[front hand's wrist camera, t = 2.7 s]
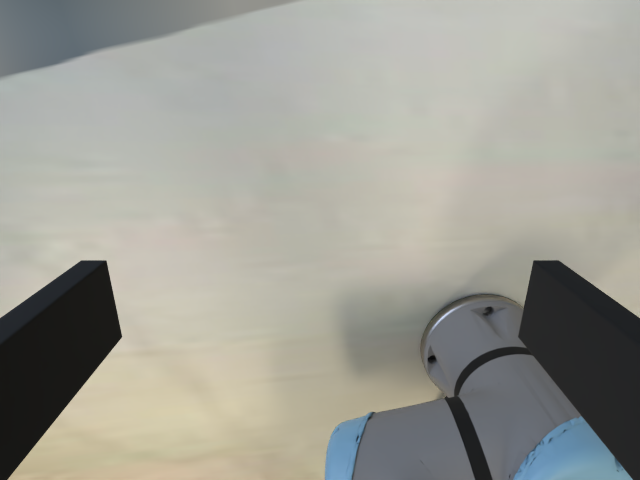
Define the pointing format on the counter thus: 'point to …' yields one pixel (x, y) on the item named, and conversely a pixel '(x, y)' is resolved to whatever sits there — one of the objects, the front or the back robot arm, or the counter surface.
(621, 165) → the counter surface
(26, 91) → the counter surface
